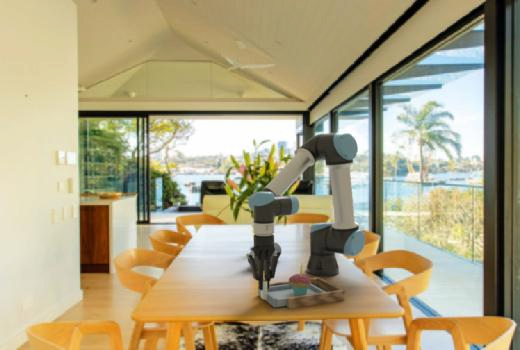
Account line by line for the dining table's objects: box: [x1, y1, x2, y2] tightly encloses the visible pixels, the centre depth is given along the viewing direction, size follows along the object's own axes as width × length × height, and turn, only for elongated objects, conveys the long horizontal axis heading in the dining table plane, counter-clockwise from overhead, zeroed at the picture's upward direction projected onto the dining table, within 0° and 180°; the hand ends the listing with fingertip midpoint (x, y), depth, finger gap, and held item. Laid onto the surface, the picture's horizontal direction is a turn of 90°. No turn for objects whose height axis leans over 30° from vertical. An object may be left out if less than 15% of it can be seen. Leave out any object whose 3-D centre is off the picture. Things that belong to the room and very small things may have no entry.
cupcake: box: [288, 263, 311, 295], centre depth 147 cm, size 9×8×12 cm
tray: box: [257, 284, 326, 308], centre depth 146 cm, size 22×15×3 cm
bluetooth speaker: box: [247, 241, 282, 269], centre depth 195 cm, size 23×9×10 cm, turn 154°
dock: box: [269, 276, 345, 309], centre depth 148 cm, size 24×19×4 cm
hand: (263, 298), depth 142 cm, fingers closed
